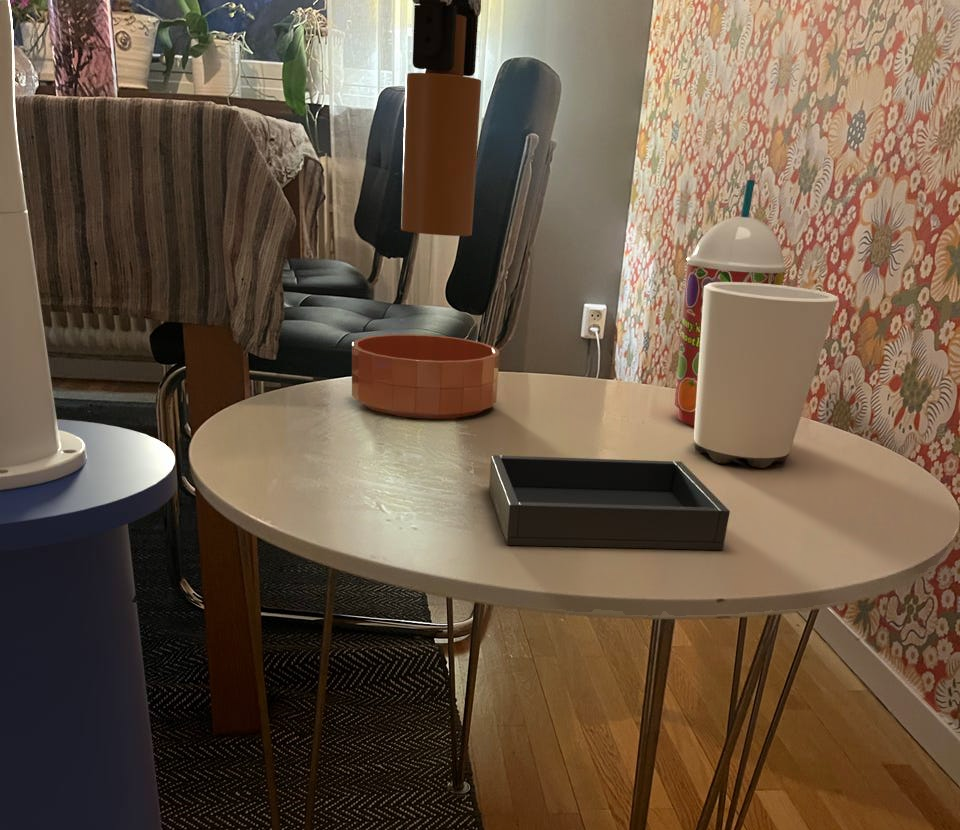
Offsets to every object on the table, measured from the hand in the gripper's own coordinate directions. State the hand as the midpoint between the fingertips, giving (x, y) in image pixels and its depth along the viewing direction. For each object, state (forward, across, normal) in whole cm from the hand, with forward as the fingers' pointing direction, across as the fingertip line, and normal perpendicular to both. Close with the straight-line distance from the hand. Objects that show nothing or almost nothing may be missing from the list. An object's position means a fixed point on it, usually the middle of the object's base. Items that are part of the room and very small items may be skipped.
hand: (444, 69), depth 73 cm
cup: (+26, -2, +27) cm, 38 cm away
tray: (+26, +19, +22) cm, 39 cm away
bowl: (+26, -2, -2) cm, 26 cm away
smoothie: (+26, -12, +23) cm, 37 cm away
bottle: (+12, 0, 0) cm, 12 cm away
